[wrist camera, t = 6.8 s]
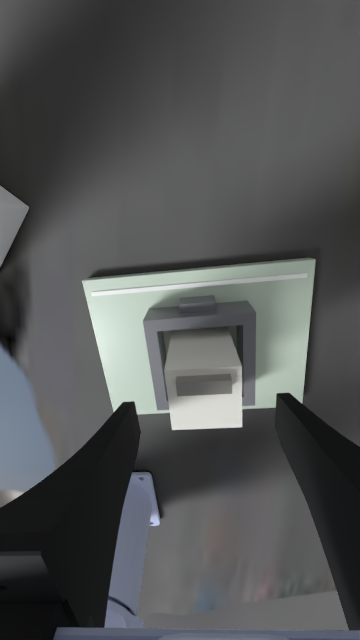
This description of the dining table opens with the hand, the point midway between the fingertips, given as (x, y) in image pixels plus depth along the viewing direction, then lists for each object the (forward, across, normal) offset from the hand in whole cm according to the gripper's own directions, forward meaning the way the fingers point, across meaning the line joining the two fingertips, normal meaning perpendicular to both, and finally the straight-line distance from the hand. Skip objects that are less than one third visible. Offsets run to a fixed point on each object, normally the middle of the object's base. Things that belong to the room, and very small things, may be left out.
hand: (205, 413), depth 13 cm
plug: (+7, 0, 0) cm, 7 cm away
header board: (+8, 0, 0) cm, 8 cm away
